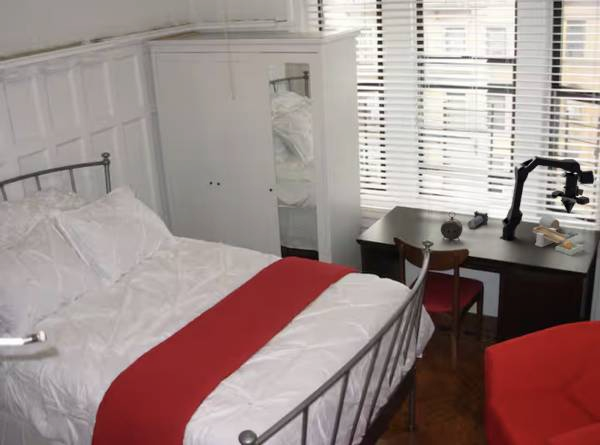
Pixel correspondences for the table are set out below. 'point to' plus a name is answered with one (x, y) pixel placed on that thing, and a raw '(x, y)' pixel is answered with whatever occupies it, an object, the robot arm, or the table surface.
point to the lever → (552, 234)
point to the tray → (572, 250)
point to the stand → (541, 241)
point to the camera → (478, 219)
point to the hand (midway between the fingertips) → (568, 213)
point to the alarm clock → (451, 228)
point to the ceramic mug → (549, 222)
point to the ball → (567, 245)
